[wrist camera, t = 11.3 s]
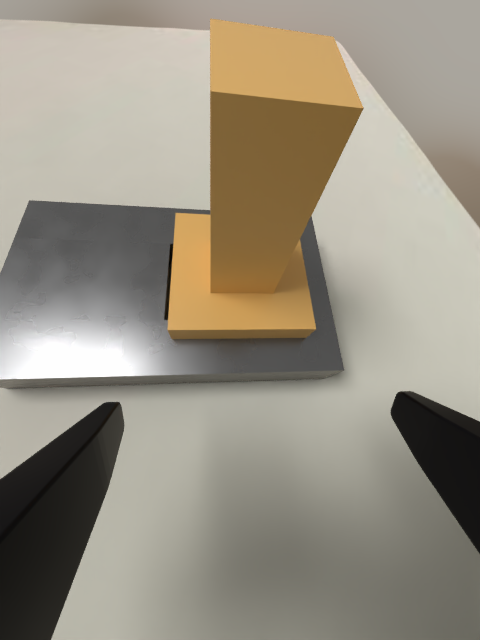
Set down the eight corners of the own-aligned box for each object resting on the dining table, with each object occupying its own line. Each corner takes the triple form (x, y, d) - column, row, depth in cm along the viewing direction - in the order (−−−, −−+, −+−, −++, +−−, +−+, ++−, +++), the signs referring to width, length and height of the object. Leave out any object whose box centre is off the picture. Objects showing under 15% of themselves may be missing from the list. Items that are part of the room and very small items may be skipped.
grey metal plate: (322, 378, 17) (344, 370, 14) (5, 388, 15) (-42, 380, 12) (298, 242, 22) (311, 215, 19) (55, 232, 19) (29, 200, 16)
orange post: (293, 349, 17) (485, 179, 5) (177, 351, 16) (82, 147, 4) (280, 256, 20) (381, 15, 8) (182, 252, 19) (136, -26, 7)
